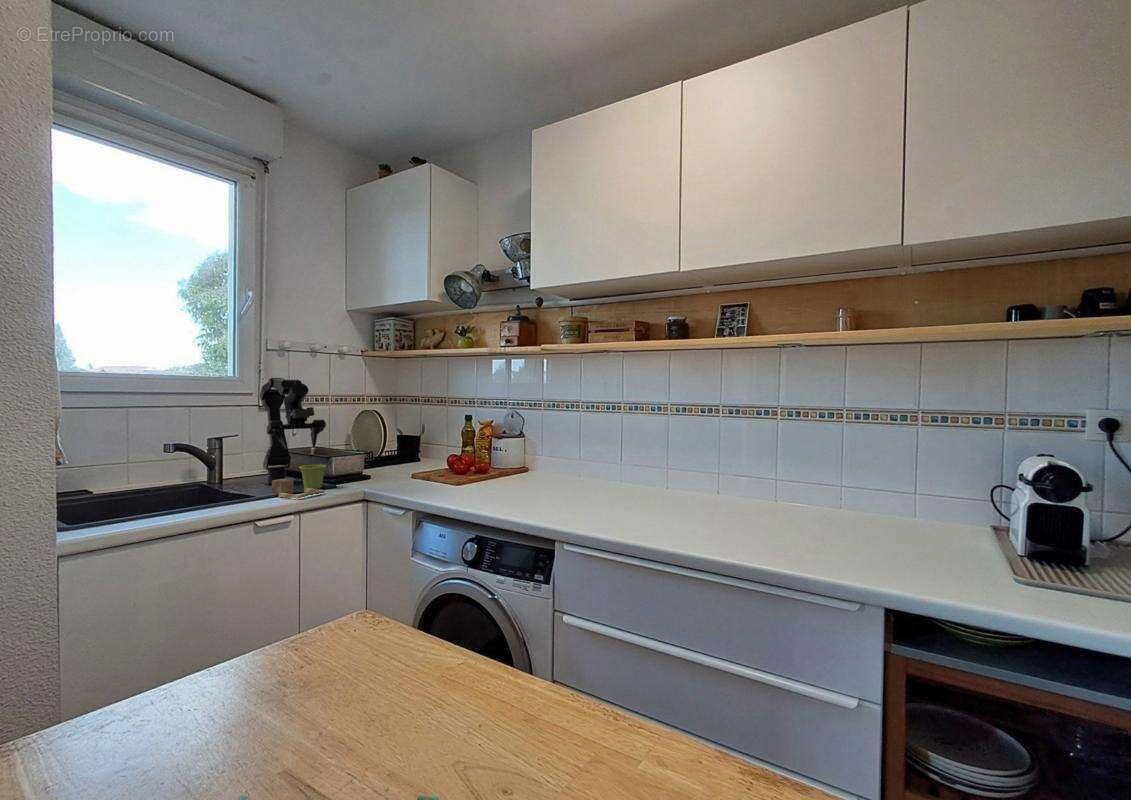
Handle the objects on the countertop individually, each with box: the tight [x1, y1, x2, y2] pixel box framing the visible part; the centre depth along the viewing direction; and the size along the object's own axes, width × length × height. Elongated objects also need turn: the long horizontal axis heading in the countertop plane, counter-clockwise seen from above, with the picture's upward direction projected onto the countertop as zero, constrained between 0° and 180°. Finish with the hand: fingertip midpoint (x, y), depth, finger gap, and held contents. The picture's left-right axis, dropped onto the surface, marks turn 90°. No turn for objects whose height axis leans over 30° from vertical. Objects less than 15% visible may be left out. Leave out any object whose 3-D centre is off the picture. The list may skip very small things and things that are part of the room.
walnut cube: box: [271, 478, 295, 495], centre depth 189 cm, size 5×5×5 cm
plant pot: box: [298, 464, 327, 490], centre depth 198 cm, size 9×9×9 cm
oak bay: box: [278, 487, 326, 499], centre depth 184 cm, size 10×11×2 cm
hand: (300, 447), depth 184 cm, fingers open, 9 cm apart
